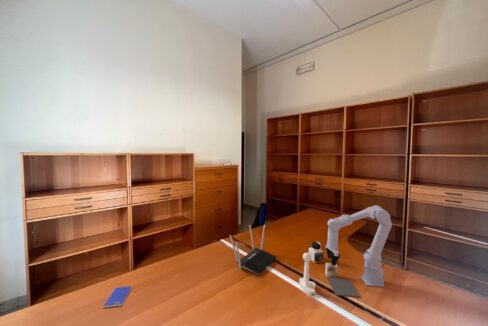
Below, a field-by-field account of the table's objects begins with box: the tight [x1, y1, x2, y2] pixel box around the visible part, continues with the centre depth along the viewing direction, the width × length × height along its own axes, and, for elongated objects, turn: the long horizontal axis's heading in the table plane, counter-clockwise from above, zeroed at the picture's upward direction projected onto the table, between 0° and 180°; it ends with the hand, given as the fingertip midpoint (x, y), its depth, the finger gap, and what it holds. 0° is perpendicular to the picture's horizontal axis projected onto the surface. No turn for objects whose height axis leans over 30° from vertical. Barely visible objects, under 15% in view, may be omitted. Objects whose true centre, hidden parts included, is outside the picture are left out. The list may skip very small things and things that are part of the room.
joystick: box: [298, 252, 316, 297], centre depth 109 cm, size 11×8×20 cm
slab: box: [324, 262, 339, 278], centre depth 120 cm, size 6×3×7 cm, turn 84°
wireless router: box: [229, 224, 277, 275], centre depth 134 cm, size 34×23×20 cm
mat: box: [327, 277, 361, 298], centre depth 110 cm, size 12×14×1 cm
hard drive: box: [102, 285, 133, 309], centre depth 101 cm, size 2×8×12 cm
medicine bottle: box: [308, 241, 325, 264], centre depth 137 cm, size 7×7×12 cm
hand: (331, 261), depth 120 cm, fingers open, 7 cm apart
